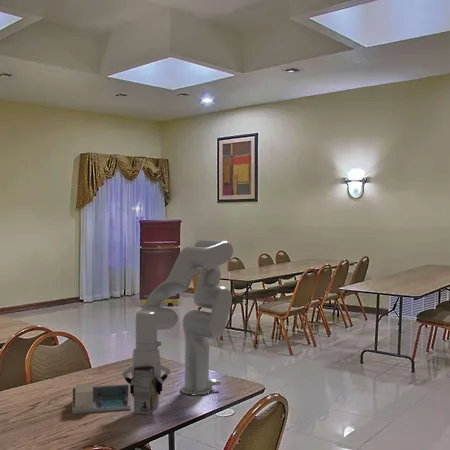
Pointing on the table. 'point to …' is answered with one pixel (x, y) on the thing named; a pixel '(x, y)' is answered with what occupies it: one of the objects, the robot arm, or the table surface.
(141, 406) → the coffee box
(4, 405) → the table surface
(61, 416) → the table surface
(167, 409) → the table surface
